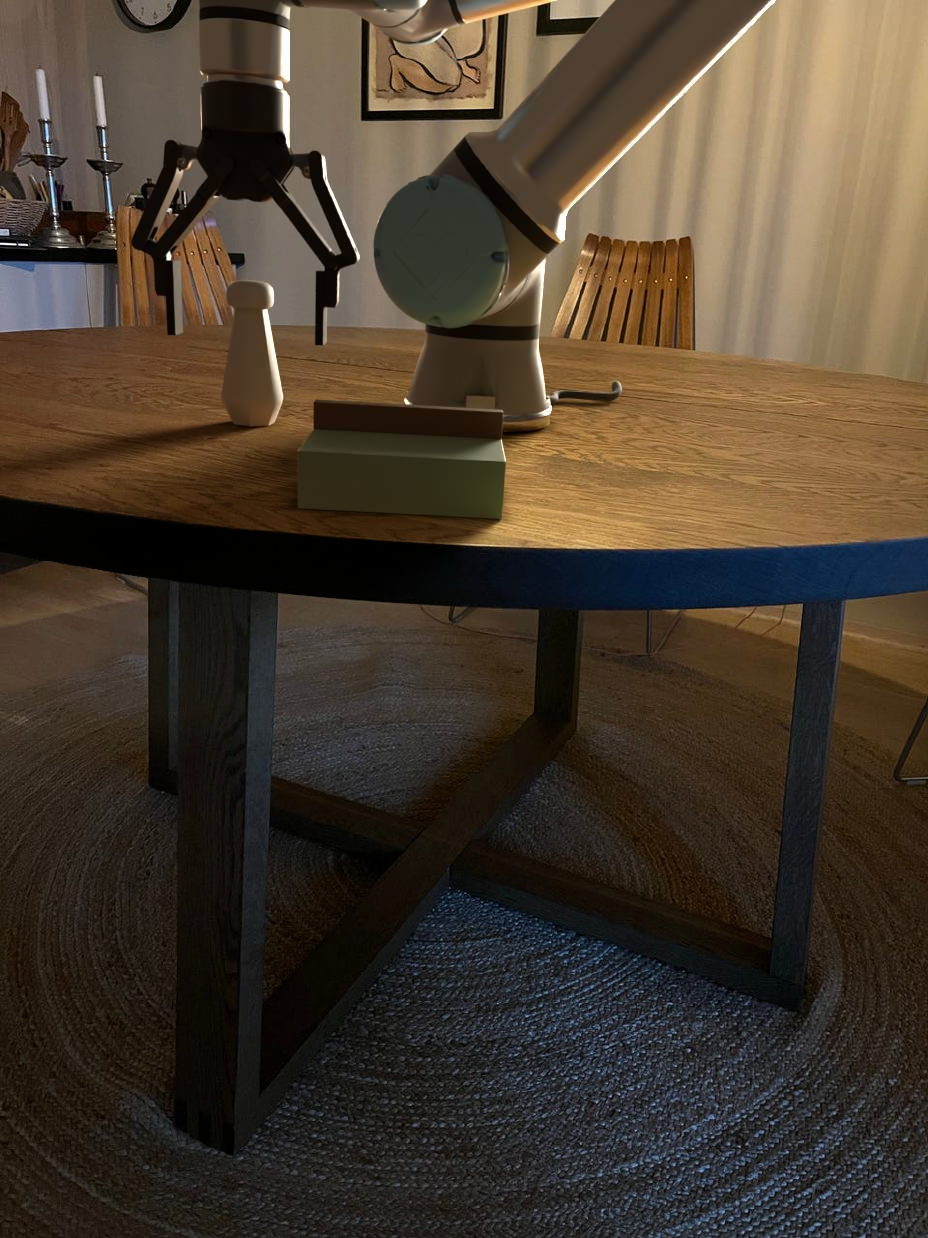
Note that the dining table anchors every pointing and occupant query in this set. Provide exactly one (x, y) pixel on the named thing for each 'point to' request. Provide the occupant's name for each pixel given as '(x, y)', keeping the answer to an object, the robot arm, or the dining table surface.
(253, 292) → the salt shaker
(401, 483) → the spice shelf
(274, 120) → the robot arm
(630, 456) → the dining table surface
